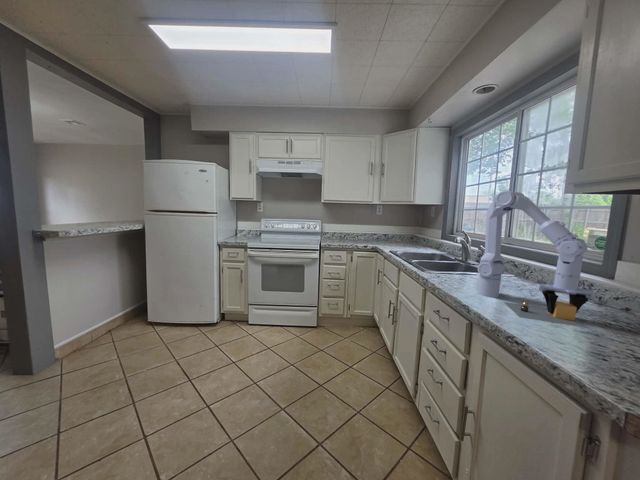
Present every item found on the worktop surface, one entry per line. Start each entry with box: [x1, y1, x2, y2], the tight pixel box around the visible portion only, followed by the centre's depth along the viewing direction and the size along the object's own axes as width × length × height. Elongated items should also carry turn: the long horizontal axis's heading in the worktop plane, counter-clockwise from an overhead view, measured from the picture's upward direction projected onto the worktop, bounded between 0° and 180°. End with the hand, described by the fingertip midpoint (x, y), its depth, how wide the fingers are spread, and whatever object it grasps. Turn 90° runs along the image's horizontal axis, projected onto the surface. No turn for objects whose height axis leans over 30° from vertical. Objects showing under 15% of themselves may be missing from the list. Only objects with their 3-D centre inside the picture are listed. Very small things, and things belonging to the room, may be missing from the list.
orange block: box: [547, 300, 577, 321], centre depth 82 cm, size 5×5×4 cm
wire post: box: [521, 301, 529, 312], centre depth 85 cm, size 2×2×3 cm
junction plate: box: [503, 301, 591, 329], centre depth 84 cm, size 15×18×1 cm
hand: (560, 314), depth 82 cm, fingers closed on orange block, 5 cm apart
